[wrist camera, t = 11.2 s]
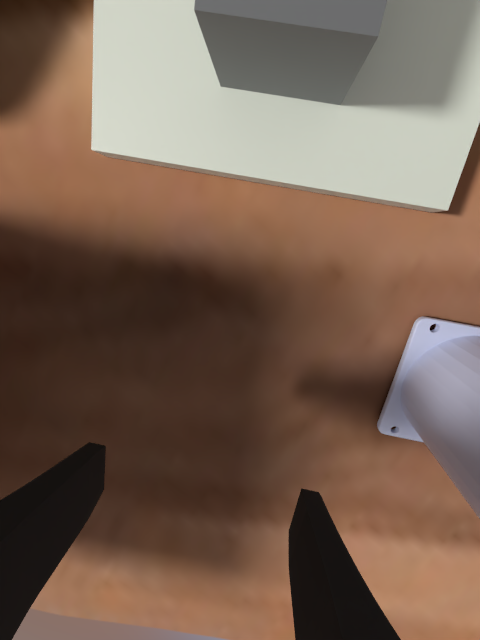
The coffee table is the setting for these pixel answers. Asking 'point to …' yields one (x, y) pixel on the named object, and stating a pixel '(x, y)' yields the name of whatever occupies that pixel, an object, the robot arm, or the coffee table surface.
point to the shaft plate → (294, 106)
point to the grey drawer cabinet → (290, 44)
